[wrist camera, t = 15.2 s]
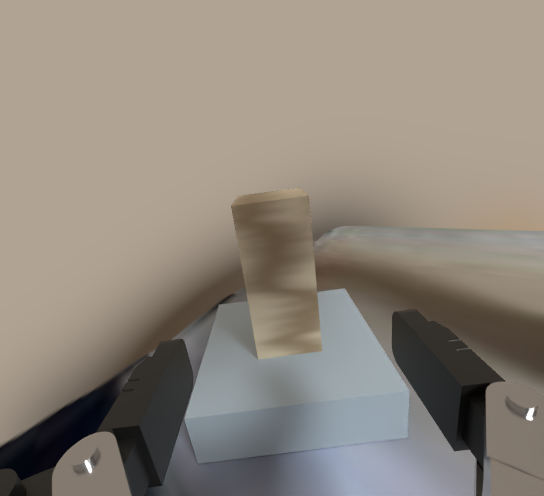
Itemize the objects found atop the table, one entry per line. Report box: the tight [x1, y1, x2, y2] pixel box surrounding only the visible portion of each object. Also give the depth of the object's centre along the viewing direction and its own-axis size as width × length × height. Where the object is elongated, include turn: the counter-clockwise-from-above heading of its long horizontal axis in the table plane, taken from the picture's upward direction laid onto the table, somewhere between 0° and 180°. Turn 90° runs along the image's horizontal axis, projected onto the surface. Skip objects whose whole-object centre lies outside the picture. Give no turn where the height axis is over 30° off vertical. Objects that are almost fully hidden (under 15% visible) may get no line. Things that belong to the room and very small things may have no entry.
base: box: [184, 288, 409, 464], centre depth 24 cm, size 14×14×4 cm
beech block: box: [231, 188, 322, 359], centre depth 22 cm, size 5×5×12 cm
